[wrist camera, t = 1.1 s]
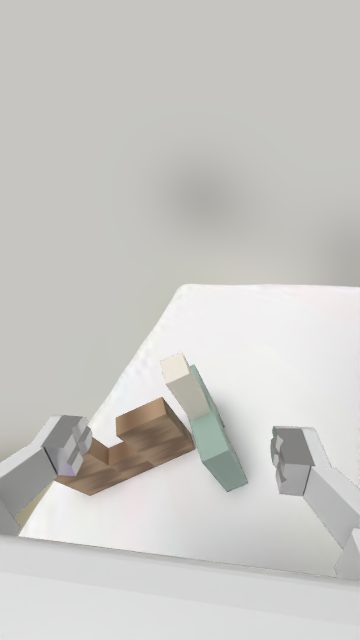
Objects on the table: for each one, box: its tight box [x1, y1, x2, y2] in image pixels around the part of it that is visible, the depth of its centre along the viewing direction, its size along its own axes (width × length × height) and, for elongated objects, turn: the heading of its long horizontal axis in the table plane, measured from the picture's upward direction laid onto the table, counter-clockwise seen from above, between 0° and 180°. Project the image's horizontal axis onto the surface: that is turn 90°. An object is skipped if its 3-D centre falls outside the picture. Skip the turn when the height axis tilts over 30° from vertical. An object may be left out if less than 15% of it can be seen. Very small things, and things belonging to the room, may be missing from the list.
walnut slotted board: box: [54, 397, 195, 496], centre depth 35 cm, size 18×2×12 cm, turn 106°
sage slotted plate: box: [160, 352, 248, 492], centre depth 31 cm, size 3×12×20 cm, turn 16°
